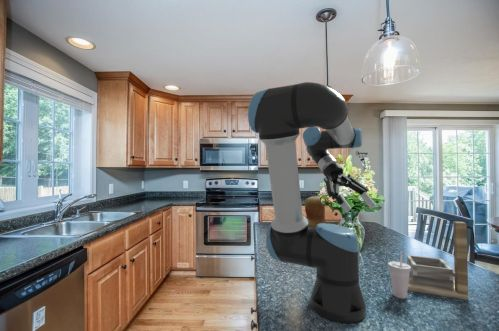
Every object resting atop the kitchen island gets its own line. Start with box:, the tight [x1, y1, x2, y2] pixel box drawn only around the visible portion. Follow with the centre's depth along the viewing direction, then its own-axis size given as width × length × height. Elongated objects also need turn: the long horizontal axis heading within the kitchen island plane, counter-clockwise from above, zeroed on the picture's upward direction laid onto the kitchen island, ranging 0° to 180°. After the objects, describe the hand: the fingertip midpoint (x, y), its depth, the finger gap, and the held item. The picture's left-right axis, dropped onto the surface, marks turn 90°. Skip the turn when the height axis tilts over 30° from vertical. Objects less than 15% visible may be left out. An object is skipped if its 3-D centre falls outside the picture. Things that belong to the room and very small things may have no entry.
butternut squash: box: [304, 195, 327, 228], centre depth 145 cm, size 14×13×25 cm
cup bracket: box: [406, 220, 469, 301], centre depth 86 cm, size 18×16×24 cm
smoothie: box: [387, 251, 411, 300], centre depth 78 cm, size 6×6×14 cm
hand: (361, 208), depth 90 cm, fingers open, 13 cm apart
